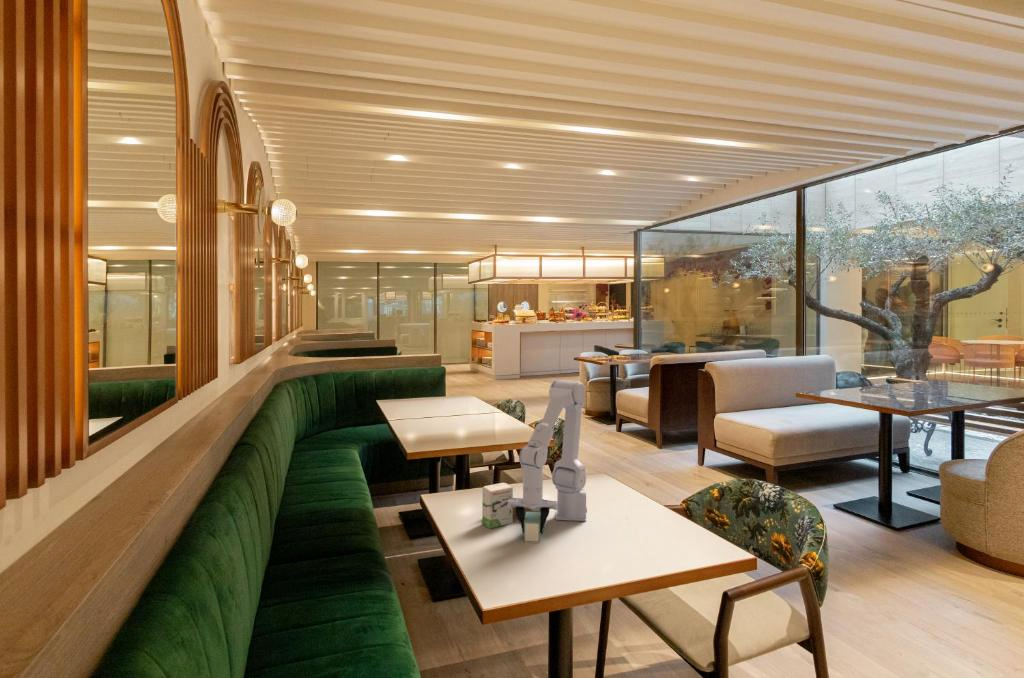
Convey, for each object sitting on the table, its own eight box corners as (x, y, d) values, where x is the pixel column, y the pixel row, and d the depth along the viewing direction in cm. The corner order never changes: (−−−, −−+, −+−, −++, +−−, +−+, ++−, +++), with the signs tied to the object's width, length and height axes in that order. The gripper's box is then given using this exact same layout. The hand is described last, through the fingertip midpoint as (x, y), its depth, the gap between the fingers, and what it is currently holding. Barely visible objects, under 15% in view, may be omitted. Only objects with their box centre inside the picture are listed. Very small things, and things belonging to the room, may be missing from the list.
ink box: (489, 529, 177) (489, 491, 176) (481, 523, 181) (481, 486, 180) (513, 523, 182) (513, 486, 181) (504, 518, 186) (504, 481, 185)
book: (540, 531, 175) (541, 512, 175) (539, 542, 167) (539, 522, 167) (526, 531, 176) (526, 511, 175) (523, 542, 168) (524, 521, 167)
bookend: (546, 519, 185) (546, 502, 184) (545, 529, 177) (545, 511, 177) (532, 518, 185) (532, 501, 185) (531, 528, 177) (531, 510, 177)
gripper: (506, 490, 167) (506, 536, 168) (557, 492, 166) (557, 538, 167) (509, 482, 174) (509, 526, 175) (557, 484, 173) (557, 528, 174)
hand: (532, 532), depth 171 cm, fingers closed on book, 4 cm apart
